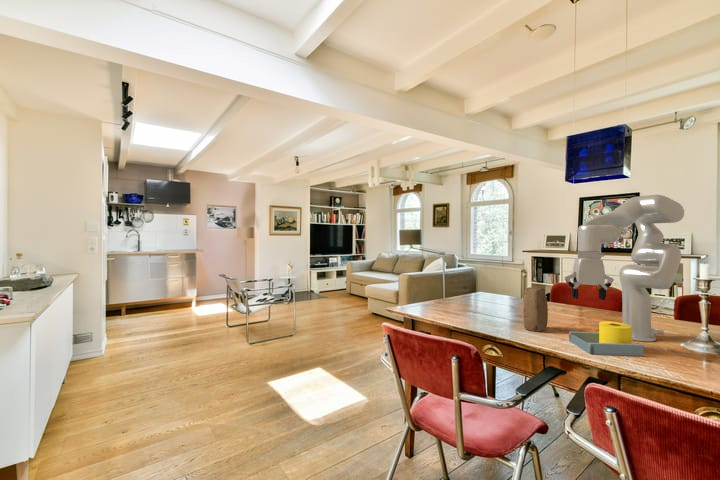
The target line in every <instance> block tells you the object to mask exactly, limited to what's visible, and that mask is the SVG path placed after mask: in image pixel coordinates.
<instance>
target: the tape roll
mask: <svg viewBox="0 0 720 480" xmlns="http://www.w3.org/2000/svg"><path fill="white" fill-rule="evenodd" d="M598 326H599V327H598V329H599V330H598V332H599V343H617V344H633V340H632V326H630V325H627V324H624V323H622V322H619V321H617V322H616V321H607V320H606V321H605V320H603V321H599V322H598Z"/></svg>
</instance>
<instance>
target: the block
mask: <svg viewBox="0 0 720 480" xmlns="http://www.w3.org/2000/svg"><path fill="white" fill-rule="evenodd" d="M522 304H523V306H522V307H523V309H522V310H523V312H522V313H523V317H522V318H523V327H524V329H525V330H528V331H530V332H536V333H537V332H538V333H540V332H543V331H544V330H546V328H547V326H548V319H549V318H548V317H549V316H548V315H549V314H548V313H549V312H548V311H549V309H548V306H549V305H548V299H547V295H546V289H545V288H544V287H540V286H539V287H538V286H532V287H527V288H525V289H524V296H523V303H522Z"/></svg>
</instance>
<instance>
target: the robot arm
mask: <svg viewBox="0 0 720 480" xmlns="http://www.w3.org/2000/svg"><path fill="white" fill-rule="evenodd" d="M684 217H685V209H684V207H683V206H682V204H681V203H679V202H678V201H675V200H674V199H672V198H669V197H668V196H665V195H662V194H651V195H650V194H649V195H640V196H633V197H630V198H628V199H627V200H624V202H622V203H621V204H620V205H619V206H617V207H616V208H615V209H614V210H612V211H609V212H606V213H604V214H601V215H598V216H595V217H593V218H591V219H589V220H587V221H586V222H585V223H584V224H581V225H579V226H578V228H577V258H575V259H574V262H573V265H572V266H573V267H572V273H571V274H569V275H567V276H564V280H565V282H566V284H567V285H568V286H569V287H570V288H571V296H572V299H575V300H578V299H579V289H578V288H579V286H580V285H585V286H586V285H590V286H591V285H593V286H598V287H599V289H598V299H599V300H602V301H605V300H606V298H607V290H608V289H609V288H610V287H611V286H612V284H613V283H614V278H613V277H611V276H609V275H607V274H606V273H605V265H604V260H603V259H602V257H605V253H602V244H606V245H607V244H614V243H616V242H618V241H619V239H620V238H621V234H622V232H621V229H625V228H627V227H630V226H632V225H633V224H635V227H636V229H637V232H638V233H637V235H638V236H637V238H636V240H635V243H634V246H633V248H632V251H631V254H630V258H631V260H632V262H633V263H634V264H632V263H631V264H627V265H623V266H622V267H621V268H620V269H619V274H618V275H619V281H620V283H621V285H620V286H621V295H622V299H621V300H622V301H621V302H622V304H621V305H622V307H621V308H622V311H621V312H622V314H621V315H622V319H621V320H622V322H621V323H624V324H627V325H630V326H632V341H638V342H655V341H657V337H656V335H665V330H663V329H656V328H653V327H652V297H651V294H650V293H649V291H648V290H647V289H653V290H668V289H670V288H671V287H672V286H673V284H674V281H675V280H676V279H675V278H676V276H677V273H678V270H679V267H680V264H681V260H682V252H681V248H680V247H679V246H677V245H676V244H674V243H673V244H672V243H663V241H664V234H663V232H662V231H661V229H659V228H658V226H656V224H675V223H678V222H680V221H682V220H683V218H684ZM571 280H572V281H571Z"/></svg>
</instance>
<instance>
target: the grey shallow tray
mask: <svg viewBox="0 0 720 480" xmlns="http://www.w3.org/2000/svg"><path fill="white" fill-rule="evenodd" d="M568 334H569V335H568V338H569V339H568V340H569V342H570V343H572V344H574V345H575V346H576V347H578V348H580V349H582V350H583V351H585V352H586V353H587V354H590V355H597V356H599V355H602V356H624V357H625V356H628V357H629V356H630V357H644V355H645V353H644V351H645V350H644V347H645V345H644V344H641V343H632V344H617V343H599V331H598V332H597V331H596V332H594V331H593V332H592V331H569V333H568Z"/></svg>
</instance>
